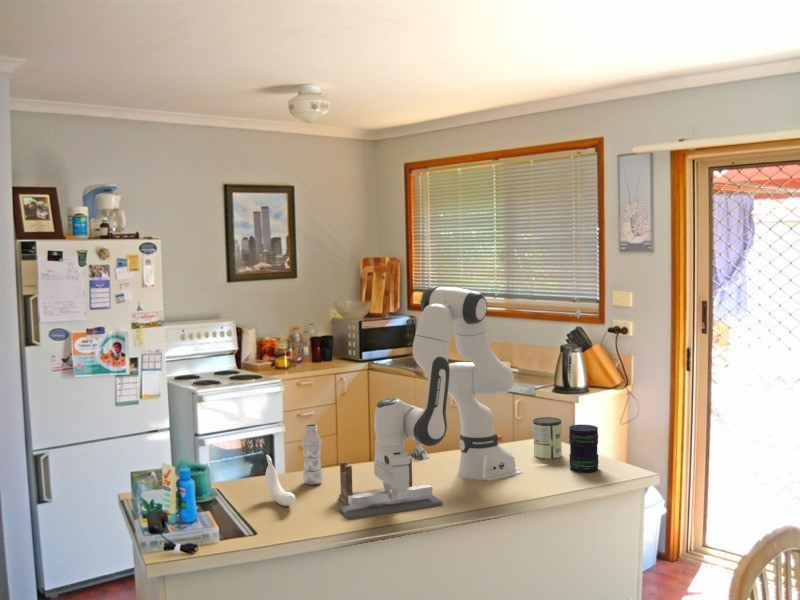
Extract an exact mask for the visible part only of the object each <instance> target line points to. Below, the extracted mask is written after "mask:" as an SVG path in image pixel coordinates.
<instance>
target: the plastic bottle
mask: <svg viewBox="0 0 800 600" xmlns="http://www.w3.org/2000/svg"><path fill="white" fill-rule="evenodd" d="M304 431H305V434H304V435H303V436H302V439H301V447H302V451H303V472H302V481H303V483H304V484H305V485H308V486H316V485H320V484H322V482H323V479H324V477H323V476H324V475H323V470H322V464H321V448H322V439H321V436H320V435H319V434H318V432H317V431H318V427H317V424H313V423H310V424H306V425H305V430H304Z"/></svg>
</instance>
